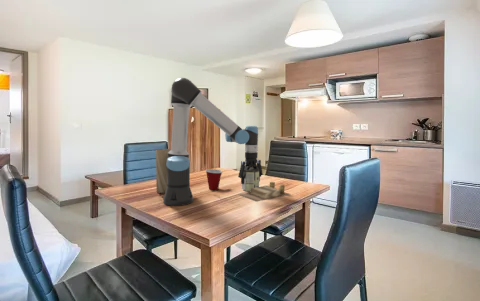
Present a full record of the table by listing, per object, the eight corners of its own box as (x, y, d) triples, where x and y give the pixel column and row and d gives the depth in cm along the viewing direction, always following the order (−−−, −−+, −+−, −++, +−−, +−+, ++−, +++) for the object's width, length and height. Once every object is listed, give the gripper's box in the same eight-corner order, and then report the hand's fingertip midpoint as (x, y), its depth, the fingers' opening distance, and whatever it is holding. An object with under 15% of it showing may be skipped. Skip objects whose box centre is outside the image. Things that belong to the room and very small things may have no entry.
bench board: (256, 204, 140) (256, 192, 139) (238, 197, 153) (238, 186, 152) (290, 196, 156) (291, 185, 155) (271, 190, 168) (271, 180, 168)
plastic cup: (221, 191, 166) (222, 171, 164) (204, 190, 166) (204, 171, 164) (223, 187, 176) (223, 168, 175) (206, 186, 177) (206, 168, 175)
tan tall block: (163, 193, 158) (163, 150, 155) (153, 190, 164) (152, 149, 161) (176, 190, 166) (176, 149, 163) (166, 187, 172) (166, 148, 169)
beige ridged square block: (264, 198, 146) (264, 192, 146) (250, 193, 156) (250, 188, 155) (280, 195, 153) (280, 189, 153) (265, 190, 163) (266, 185, 163)
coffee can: (242, 189, 172) (243, 167, 170) (259, 189, 170) (259, 167, 169) (241, 193, 161) (241, 170, 160) (258, 194, 160) (259, 170, 159)
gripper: (240, 153, 154) (239, 191, 156) (269, 151, 167) (268, 186, 170) (232, 152, 160) (231, 189, 162) (261, 150, 173) (260, 184, 175)
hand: (250, 187), depth 166 cm, fingers closed on coffee can, 10 cm apart
